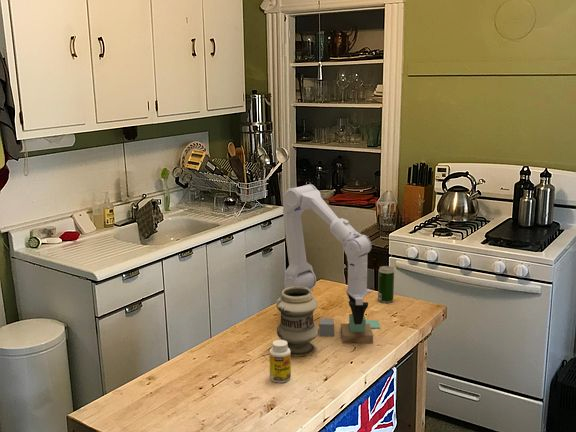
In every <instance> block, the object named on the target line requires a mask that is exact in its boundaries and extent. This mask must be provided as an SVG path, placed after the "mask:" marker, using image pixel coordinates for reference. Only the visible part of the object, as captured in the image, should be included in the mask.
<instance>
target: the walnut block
mask: <svg viewBox="0 0 576 432" xmlns="http://www.w3.org/2000/svg"><path fill="white" fill-rule="evenodd" d="M340 336H341V341H342V344H343V345H344V344H374V334H373V330H372V329H371V326H370V324H366V325H365V332H350V328H349V323H340Z"/></svg>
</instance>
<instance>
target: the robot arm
mask: <svg viewBox="0 0 576 432" xmlns="http://www.w3.org/2000/svg"><path fill="white" fill-rule="evenodd" d="M282 200H283V209H282V213H283V214H282V215H283V222H284V227H285V236H286V245H287V251H288V253H287V254H288V259H289V260H288V261H289V265H288V267H287V268H286V269H285V271H284V281H283V284H284V285H283V286H284V289H286V288H289V287H294V286H301V287H306V288H309V289H310V290H311V292H312V291H314V290H313V288H314V287H315V286H316V284H317V276H316V274H315V272H314V270H313V269H314V268H313V266H312V265H311V264H310V263H309V262H308V260H307V254H306V246H305V238H304V231H303V224H302V213H304V212H305V210H309V211H310V210H312V211H314V213H316V215H317V216H319V218H321V219H322V221H324V222H325V223H326V224H328V225H329V231H330V233H331V234H332V235H333V236H334V237H335V238H336V239H337V241H338V242H340V244H342V246H343V252H344V253H345V255H346V261H347V289H346V295H347V297H348V299H349V301H348V305H349V307H350V310H351V314H353V320H354V324H362V321H363V316H365V312H366V310H367V309H368V307H369V302H368V301H367V302H364V299H365V298H366V296H367V294H371V292H372V291H371V289H370V288H368V256H369V255H368V253H370V252H371V250H372V247H373V246H372V241H371V240H370V238H369V236H368V235H365V234H361V233H360V232H358V231H357V230H356V229H355V228H354V227H353V226H352V225H351V224H350V221H349V220H348V219H345V218H342V217H341V218H339V217H338V216H337V214H336V213H335V212H334V211H333V209H331V208H330V206H329V205H328V203H326V201H325V200H324V199H323V198H322V195H321V191H320V190H318V189H317V187H316V186H315V185H314V184H311V183H309V184H305V185H302V186H297V187H289V188H288V189H286V191H285V192H284V193H283V195H282Z"/></svg>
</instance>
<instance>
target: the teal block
mask: <svg viewBox="0 0 576 432" xmlns="http://www.w3.org/2000/svg"><path fill="white" fill-rule="evenodd" d="M366 320H367V319H366V316H365V315H364V316H363V321H362V324H354V320H353V314H352V313H349V314H348V324H349V328H350V332H365V325H366Z"/></svg>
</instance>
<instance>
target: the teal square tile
mask: <svg viewBox="0 0 576 432" xmlns="http://www.w3.org/2000/svg"><path fill="white" fill-rule="evenodd" d="M366 324H370V326H371V330H372V329H373V330H375V329H376V330H380V329H381V326H380V322H379V320H378V319H366Z"/></svg>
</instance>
